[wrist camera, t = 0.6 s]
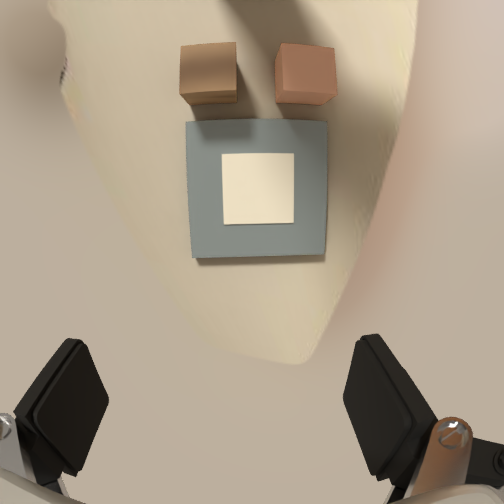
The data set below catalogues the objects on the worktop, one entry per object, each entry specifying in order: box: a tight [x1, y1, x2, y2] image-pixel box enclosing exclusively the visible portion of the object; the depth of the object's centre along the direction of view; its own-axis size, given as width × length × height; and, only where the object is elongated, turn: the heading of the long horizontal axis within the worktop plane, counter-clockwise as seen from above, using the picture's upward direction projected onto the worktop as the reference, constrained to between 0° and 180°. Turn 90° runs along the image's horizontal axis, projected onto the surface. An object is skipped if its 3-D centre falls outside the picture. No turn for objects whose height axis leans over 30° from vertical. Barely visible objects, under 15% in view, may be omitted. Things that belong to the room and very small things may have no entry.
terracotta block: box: [275, 43, 337, 105], centre depth 26 cm, size 6×6×6 cm
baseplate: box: [186, 119, 327, 258], centre depth 32 cm, size 16×16×1 cm
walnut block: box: [179, 42, 237, 105], centre depth 26 cm, size 6×6×6 cm
